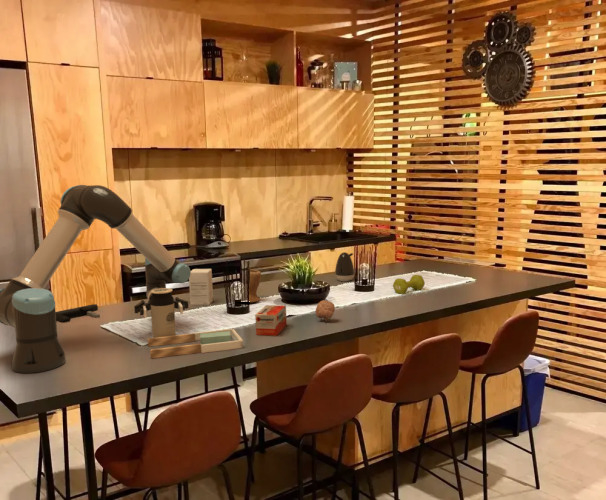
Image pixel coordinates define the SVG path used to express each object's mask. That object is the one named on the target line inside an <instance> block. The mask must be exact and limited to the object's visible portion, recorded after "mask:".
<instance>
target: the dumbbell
mask: <svg viewBox="0 0 606 500" xmlns="http://www.w3.org/2000/svg"><path fill="white" fill-rule="evenodd" d="M425 284H426V283H425V280H424V277H423V276H422V275H419V274H413V275H412V276H411V277H410V279H409V280H408V281H406V279H404V278H396V279H395V280H394V281H393V283H392V288H393V290H394V293H396V294H398V295H405V294H406V293H407V291H408V289H409V288H411V289H412V290H415V291H421V290H422V289H423V288H424V287H425Z"/></svg>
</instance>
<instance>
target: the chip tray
mask: <svg viewBox="0 0 606 500" xmlns="http://www.w3.org/2000/svg"><path fill="white" fill-rule="evenodd" d="M227 331H230V336H231V338H232V340H231V341H228V342H220V343H211V344H203V345H201V352H200V353H202V354H203V353H204V354H205V353H213V352H220V351H228V350H230V351H231V350H237V349H238V350H239V349H244V340H243V338H242V337H241V336H240V335H239V333H237V331H236V330H235V329H234V328H228V329H227V328H226V329H216V330H209V331H199V332H194V333H195V341H200V334H203V333H215V332H227Z"/></svg>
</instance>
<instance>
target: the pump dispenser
mask: <svg viewBox="0 0 606 500" xmlns="http://www.w3.org/2000/svg"><path fill="white" fill-rule="evenodd" d="M353 255H354V254H353V252H351V253H348V252H341V253H340V254H339V255H338V258H337V260H336V264H335V269H334V274H335V277H336V278H337V280H338V281H340V282H350V281H352V279H353V278H354V275H355V267H354V263H353V260H352V256H353Z"/></svg>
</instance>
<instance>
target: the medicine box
mask: <svg viewBox="0 0 606 500" xmlns="http://www.w3.org/2000/svg"><path fill="white" fill-rule="evenodd" d="M254 317H255V318H254V320H255V335H256V336H271V337H272V336H274V337H277V336H278V335H279V334H280V333H281V332H282V330H284V329H285V328H286V326H288V325H287V324H288V323H287V306H286V305H277V304H276V305H275V304H274V305H273V304H271V305H270V304H266V305H264V307H262V308H261V309H260V310H259V311H258V312H257V313H255V314H254Z"/></svg>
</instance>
